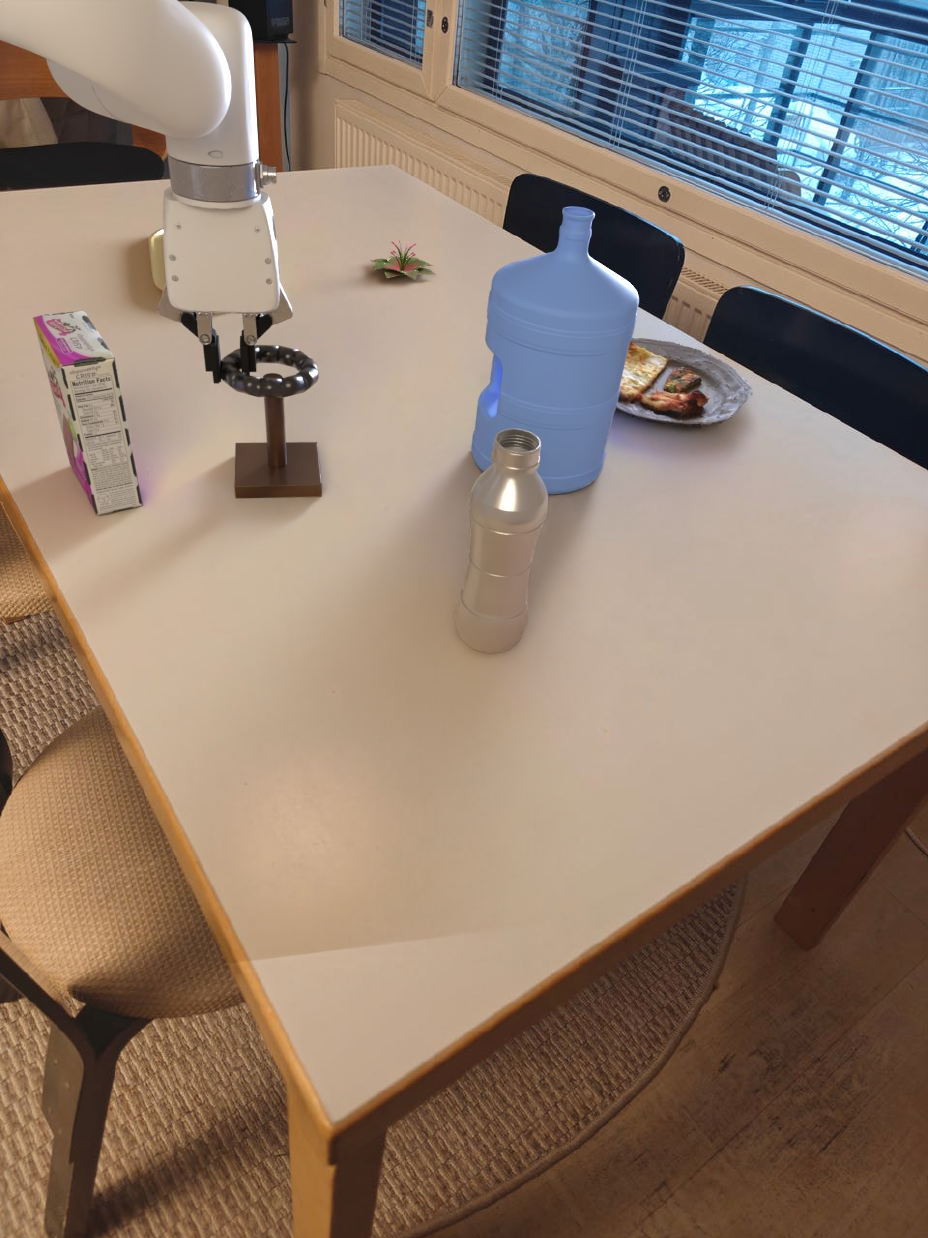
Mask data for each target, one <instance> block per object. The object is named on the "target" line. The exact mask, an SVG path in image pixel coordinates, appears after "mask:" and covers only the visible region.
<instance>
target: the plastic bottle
mask: <svg viewBox="0 0 928 1238" xmlns="http://www.w3.org/2000/svg"><path fill="white" fill-rule="evenodd" d="M540 450H541V440H540V439H539V437H538V436H537V435H535V434H533V433H532V432H529V431H526V430H522V429H506V430H502V431H500V432H499V433H497V434H496V436H495V439H494V446H493V450H492V453H491V462H492V465H491V466H489V467H488V468H487V469H486V470H485V471H484V472H483V471H482V473H480V475H479V476H477V479H476V480H475V481H474V483H473V486H472V487H471V490H470V491H469V492H470V493H469V502H468V506H469V509H468V510H469V528H470V529H469V531H470V533H469V535H470V537H469V554H468V563H467V568H466V574H465V578H464V581H463V586H462V589H461V591H460V594H459V596H458V599H457V604H456V607H455V612H454V617H455V627H456V628H455V629H456V632H457V634H458V635H459V637H460V638H461V640H462V641H463V642H464V643H465V645H467V646H468V647H470V648H471V649H473V650H475V651H477V652H480V653H486V654H498V653H503V652H505V651H508V650H510V649H511V648H513V647H514V646H515V645H517V644H518V643H519V642H520V640H521V639H522V637H523V635H524V633H525V630H526V627H527V624H528V621H529V601H528V600H529V599H528V593H529V592H528V591H529V580H530V579H529V578H530V571H531V566H532V561H533V558H534V553H535V551H536V545H537V542H538V540H539V538H540V537H539V536H540V534H541V531H542V529H543V526H544V523H545V519H546V517H547V514H548V509H549V505H550V502H549V494H548V493H547V489H546V487H545V485H544V483H543V481H542V479H541V477H540V475H539V474H538V472H537V471H536V469H537V468H538V467H539V463H540Z"/></svg>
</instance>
